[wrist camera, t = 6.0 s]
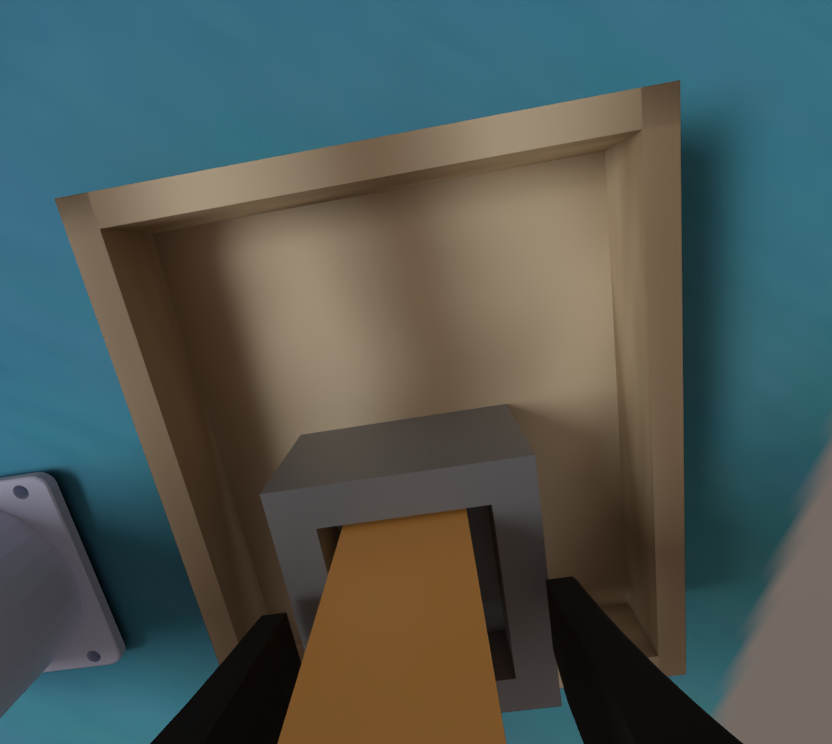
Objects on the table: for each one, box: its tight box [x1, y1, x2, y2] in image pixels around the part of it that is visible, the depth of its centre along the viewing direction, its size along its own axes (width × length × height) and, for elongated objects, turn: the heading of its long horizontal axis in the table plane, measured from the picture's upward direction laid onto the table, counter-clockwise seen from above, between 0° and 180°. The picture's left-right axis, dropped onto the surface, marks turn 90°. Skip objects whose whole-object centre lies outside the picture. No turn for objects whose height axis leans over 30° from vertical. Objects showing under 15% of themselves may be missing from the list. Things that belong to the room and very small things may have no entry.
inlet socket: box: [260, 404, 562, 713], centre depth 12 cm, size 6×7×4 cm
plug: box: [278, 508, 506, 744], centre depth 8 cm, size 3×4×8 cm
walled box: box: [55, 80, 686, 688], centre depth 13 cm, size 14×16×3 cm
